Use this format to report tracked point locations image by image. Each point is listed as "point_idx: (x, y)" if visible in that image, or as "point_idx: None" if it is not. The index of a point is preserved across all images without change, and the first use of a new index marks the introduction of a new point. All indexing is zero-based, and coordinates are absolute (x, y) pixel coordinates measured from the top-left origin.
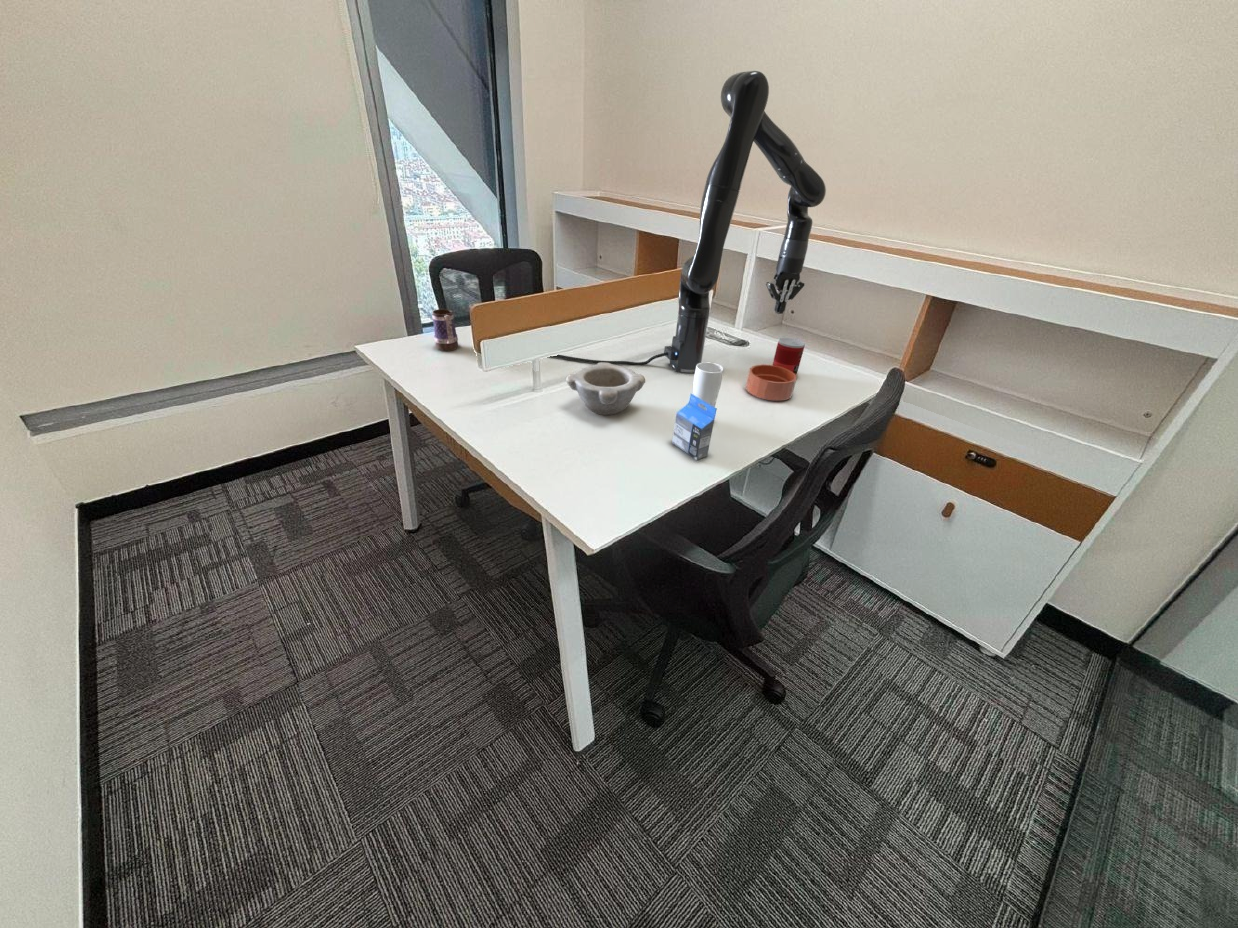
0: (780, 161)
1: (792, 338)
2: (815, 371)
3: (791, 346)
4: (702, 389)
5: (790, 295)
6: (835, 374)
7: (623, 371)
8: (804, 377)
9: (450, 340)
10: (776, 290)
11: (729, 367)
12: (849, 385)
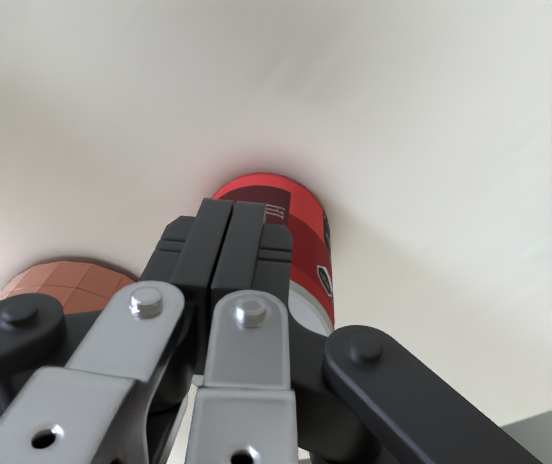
0: None
1: (301, 304)
2: (474, 237)
3: (201, 384)
4: None
5: (330, 460)
6: (540, 290)
7: None
8: (354, 273)
9: None
10: (30, 393)
11: (15, 58)
12: (482, 378)
